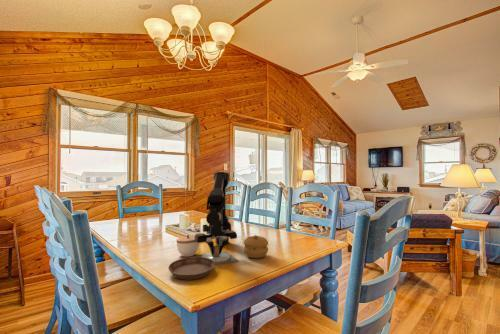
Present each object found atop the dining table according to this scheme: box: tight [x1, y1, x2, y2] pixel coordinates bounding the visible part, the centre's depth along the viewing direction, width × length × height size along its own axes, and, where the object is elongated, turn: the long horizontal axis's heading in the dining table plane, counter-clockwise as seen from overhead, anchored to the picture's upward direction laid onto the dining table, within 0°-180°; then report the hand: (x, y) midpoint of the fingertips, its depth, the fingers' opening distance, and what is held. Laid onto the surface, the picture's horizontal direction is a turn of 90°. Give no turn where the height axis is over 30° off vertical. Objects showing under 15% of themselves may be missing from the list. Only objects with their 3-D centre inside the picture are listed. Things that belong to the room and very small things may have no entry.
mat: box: [193, 250, 240, 267], centre depth 120 cm, size 16×16×1 cm
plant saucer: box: [168, 256, 216, 281], centre depth 103 cm, size 18×18×3 cm
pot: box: [242, 234, 269, 259], centre depth 123 cm, size 12×12×10 cm
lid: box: [202, 244, 230, 263], centre depth 120 cm, size 13×13×5 cm
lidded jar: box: [176, 234, 200, 257], centre depth 125 cm, size 11×11×9 cm
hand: (215, 255), depth 120 cm, fingers closed on lid, 3 cm apart
